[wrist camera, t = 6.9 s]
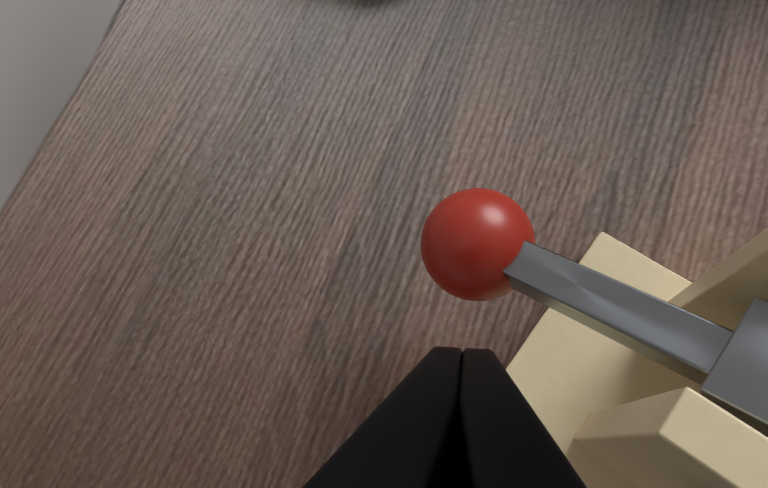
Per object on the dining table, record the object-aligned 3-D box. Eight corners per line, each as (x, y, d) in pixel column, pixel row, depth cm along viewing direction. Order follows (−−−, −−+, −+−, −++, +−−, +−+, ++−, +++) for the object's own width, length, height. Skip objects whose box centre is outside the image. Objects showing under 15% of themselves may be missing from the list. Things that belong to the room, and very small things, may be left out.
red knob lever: (424, 290, 17) (380, 238, 15) (481, 213, 18) (448, 152, 16) (840, 536, 10) (881, 511, 8) (912, 396, 11) (971, 335, 9)
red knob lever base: (469, 422, 19) (462, 403, 10) (594, 242, 20) (690, 76, 11) (764, 649, 15) (1179, 946, 6) (888, 413, 17) (1370, 378, 8)
